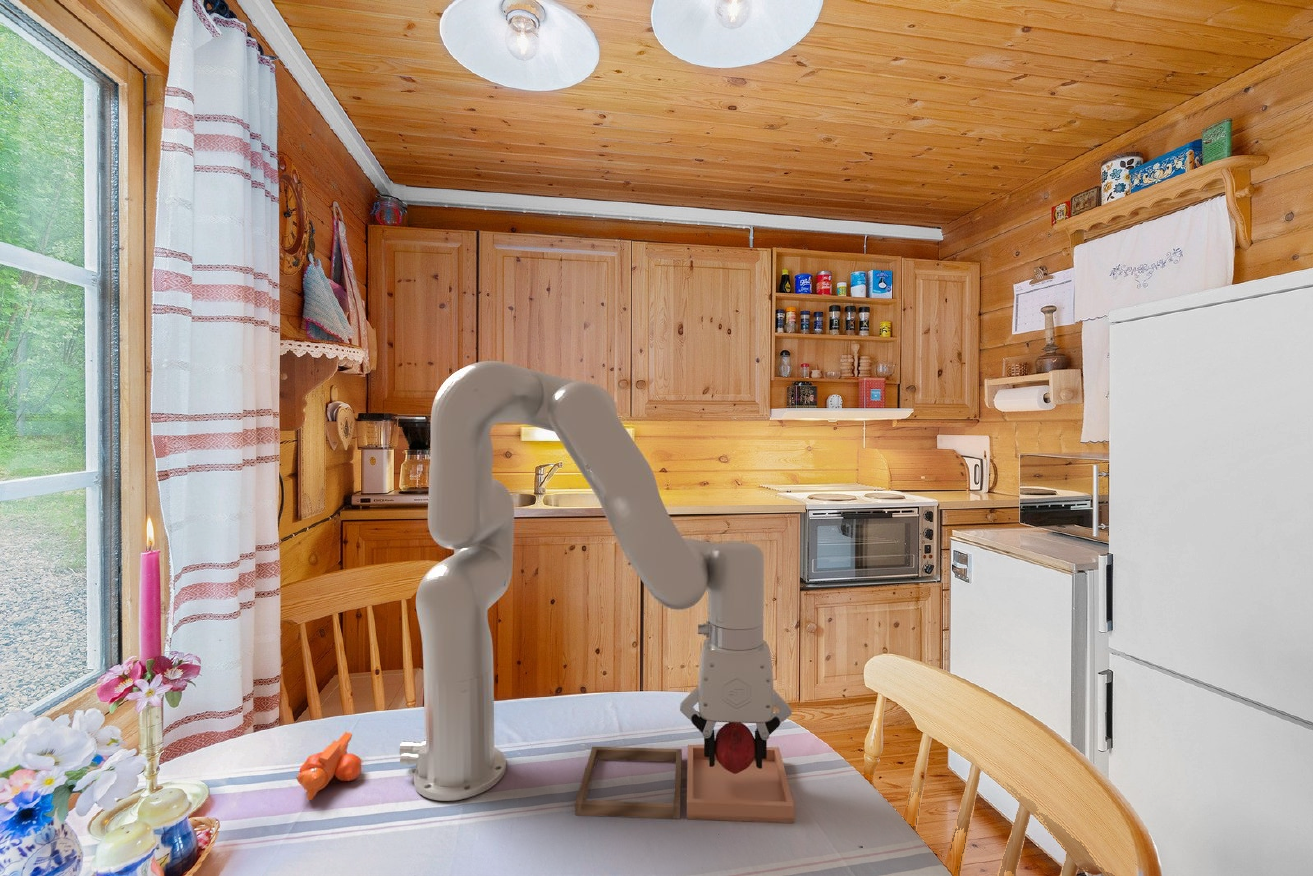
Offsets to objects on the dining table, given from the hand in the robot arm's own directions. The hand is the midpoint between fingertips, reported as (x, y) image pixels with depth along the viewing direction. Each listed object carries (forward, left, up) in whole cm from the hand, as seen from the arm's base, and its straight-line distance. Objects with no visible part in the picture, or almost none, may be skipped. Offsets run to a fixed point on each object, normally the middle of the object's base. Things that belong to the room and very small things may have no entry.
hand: (734, 760), depth 84 cm
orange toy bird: (-57, -1, -4) cm, 57 cm away
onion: (0, 0, -2) cm, 2 cm away
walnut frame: (-14, 0, -4) cm, 15 cm away
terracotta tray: (0, 0, -4) cm, 4 cm away
